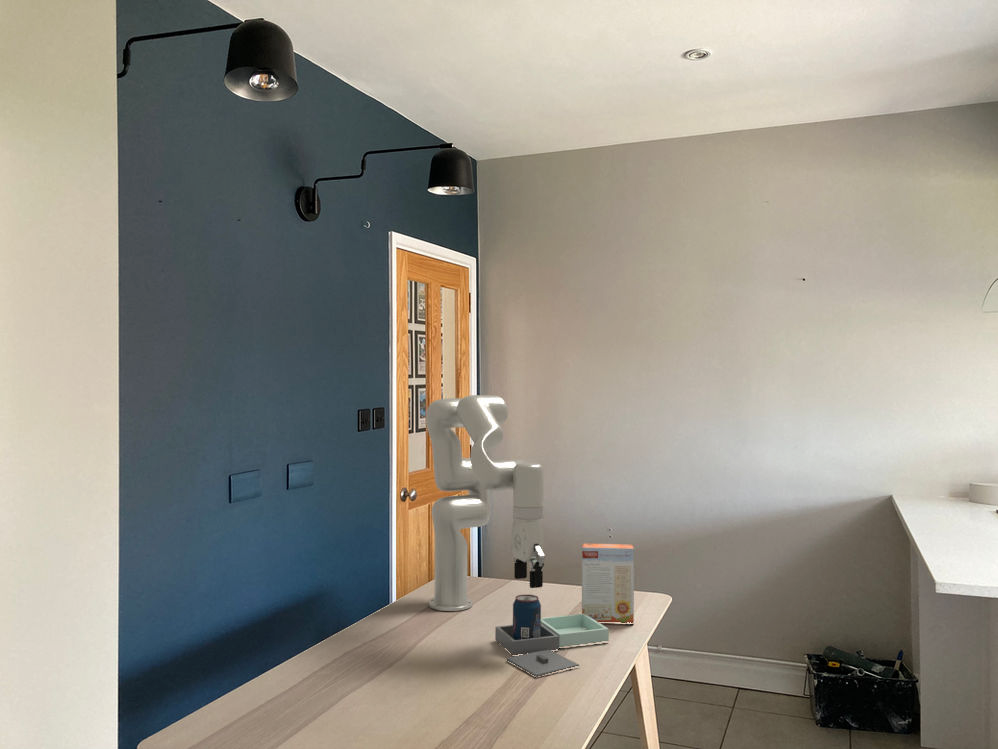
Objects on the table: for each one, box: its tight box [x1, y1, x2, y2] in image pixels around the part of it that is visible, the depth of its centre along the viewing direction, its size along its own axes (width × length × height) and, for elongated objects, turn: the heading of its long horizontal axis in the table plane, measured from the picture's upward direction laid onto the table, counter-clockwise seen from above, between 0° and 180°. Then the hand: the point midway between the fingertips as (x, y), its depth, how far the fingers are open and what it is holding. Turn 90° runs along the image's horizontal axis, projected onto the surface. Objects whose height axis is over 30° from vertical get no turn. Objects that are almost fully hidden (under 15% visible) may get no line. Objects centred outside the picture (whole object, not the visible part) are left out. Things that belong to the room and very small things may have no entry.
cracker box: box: [581, 542, 635, 623], centre depth 216 cm, size 14×6×21 cm, turn 84°
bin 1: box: [494, 624, 560, 655], centre depth 195 cm, size 12×12×4 cm
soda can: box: [512, 594, 542, 640], centre depth 195 cm, size 7×7×12 cm
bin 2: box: [541, 613, 610, 647], centre depth 202 cm, size 14×14×4 cm
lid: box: [505, 649, 580, 677], centre depth 183 cm, size 12×12×2 cm
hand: (528, 582), depth 195 cm, fingers open, 9 cm apart
